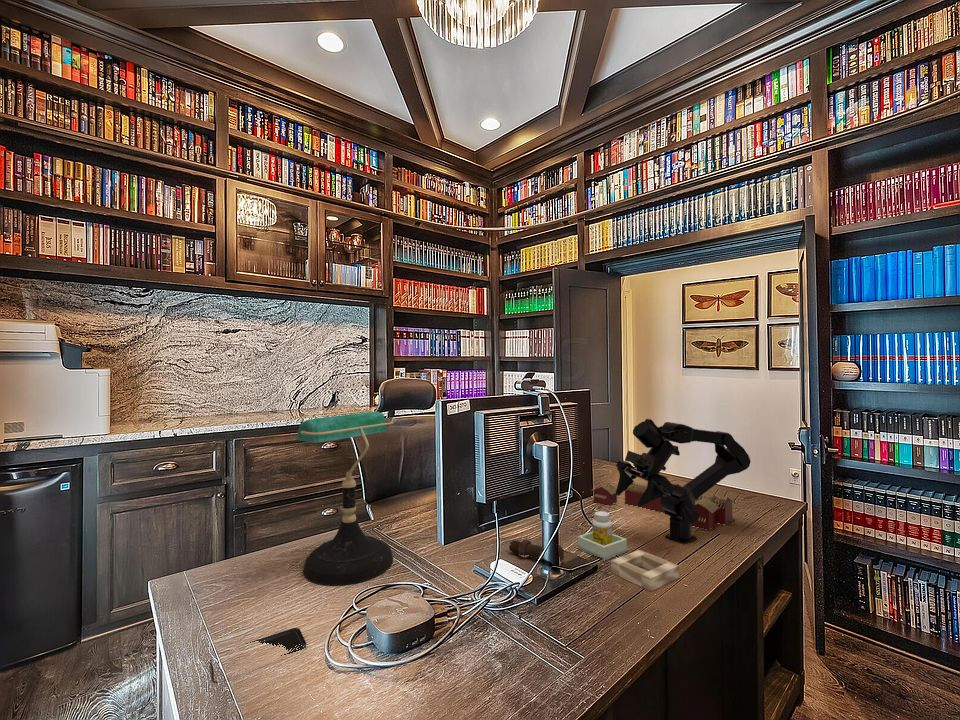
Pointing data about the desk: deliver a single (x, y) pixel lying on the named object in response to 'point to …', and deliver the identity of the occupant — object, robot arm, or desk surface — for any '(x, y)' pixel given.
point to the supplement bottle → (602, 528)
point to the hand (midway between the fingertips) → (627, 499)
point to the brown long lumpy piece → (530, 549)
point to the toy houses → (706, 507)
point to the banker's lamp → (346, 510)
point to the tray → (599, 550)
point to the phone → (286, 639)
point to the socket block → (649, 580)
